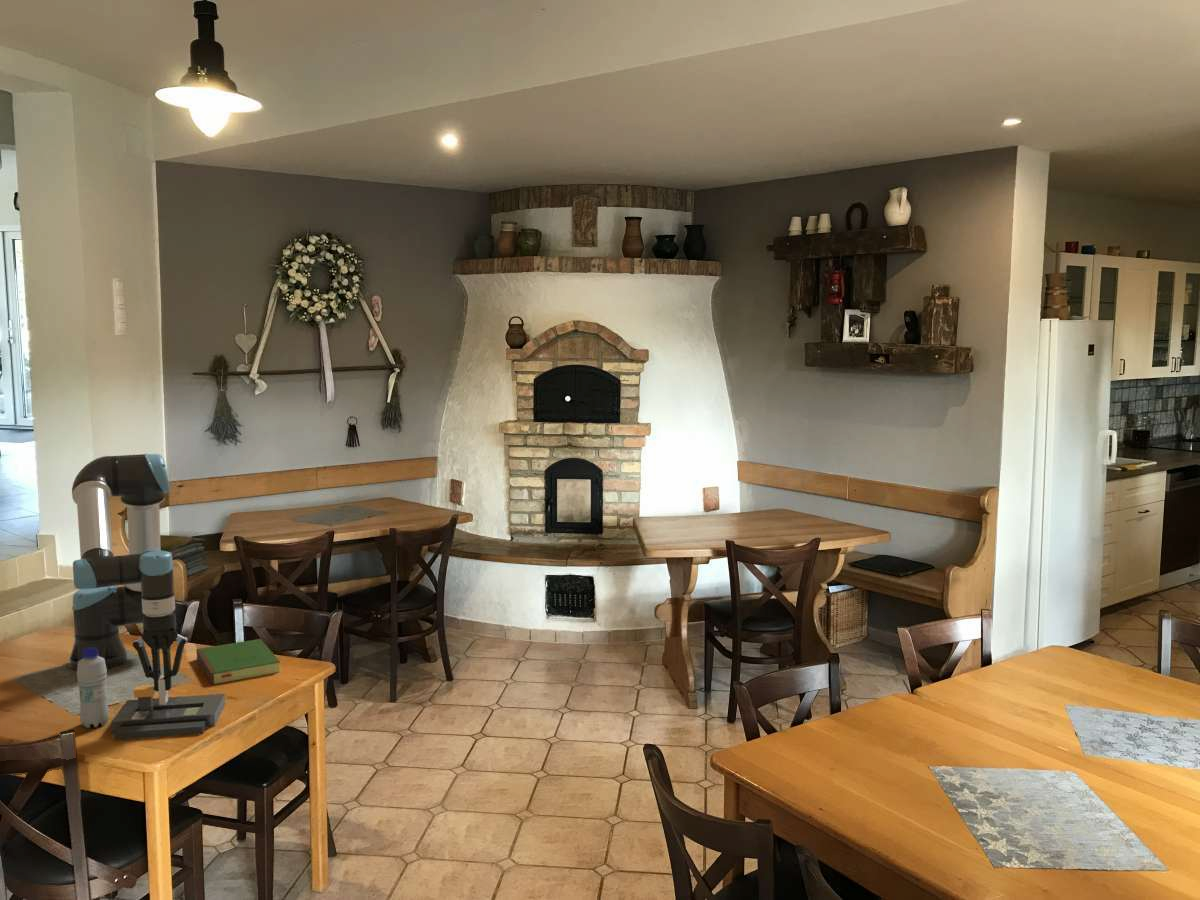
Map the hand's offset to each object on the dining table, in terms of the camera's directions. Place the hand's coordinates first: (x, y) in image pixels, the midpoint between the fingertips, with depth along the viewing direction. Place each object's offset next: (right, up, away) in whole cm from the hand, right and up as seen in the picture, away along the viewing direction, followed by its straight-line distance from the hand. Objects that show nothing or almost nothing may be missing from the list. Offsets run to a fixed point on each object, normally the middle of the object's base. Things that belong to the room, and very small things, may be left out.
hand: (163, 702), depth 240 cm
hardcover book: (+4, 0, +39) cm, 39 cm away
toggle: (-4, -3, -1) cm, 5 cm away
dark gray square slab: (+1, -4, +1) cm, 5 cm away
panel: (+1, -4, +1) cm, 5 cm away
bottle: (-16, -5, -3) cm, 17 cm away
